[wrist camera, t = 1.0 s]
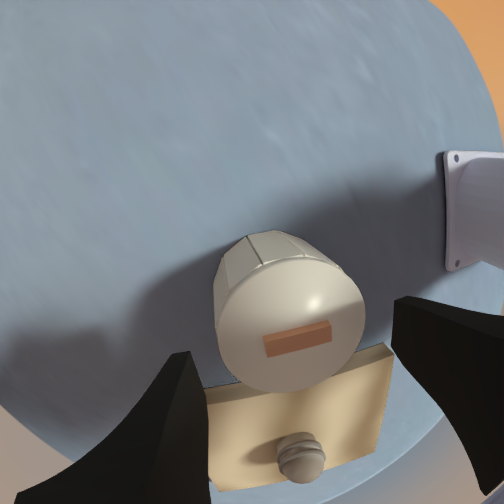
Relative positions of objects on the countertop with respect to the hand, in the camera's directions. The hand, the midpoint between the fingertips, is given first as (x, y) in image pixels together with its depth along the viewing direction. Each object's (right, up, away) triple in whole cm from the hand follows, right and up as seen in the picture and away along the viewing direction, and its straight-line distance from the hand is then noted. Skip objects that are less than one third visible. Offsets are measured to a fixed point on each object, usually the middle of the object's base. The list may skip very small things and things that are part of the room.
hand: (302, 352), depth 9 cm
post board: (+1, -10, +9) cm, 13 cm away
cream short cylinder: (-1, +2, +6) cm, 6 cm away
